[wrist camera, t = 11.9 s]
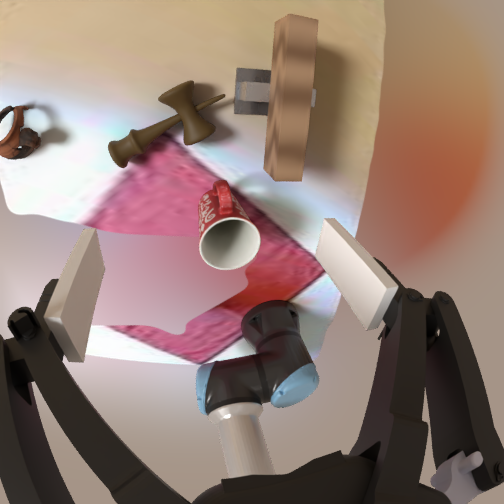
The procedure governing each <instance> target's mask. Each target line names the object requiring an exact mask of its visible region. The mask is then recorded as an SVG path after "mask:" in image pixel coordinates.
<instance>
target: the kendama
mask: <svg viewBox="0 0 504 504" xmlns="http://www.w3.org/2000/svg"><path fill="white" fill-rule="evenodd" d="M193 88H194V81H187V82H185V83H182V84H180V85H178V86H176V87H174V88H172V89H170V90H169V91H167V92H165V93H164V94H162V95H161V96H160V97H159V98H158V100H159V101H160V102H162V103H164V104H166V105H168V106H170V107H172V108H173V109H175V110H176V112H177V113H178V114H177V115H175V116H172V117H170V118H168V119H166V120H163V121H161V122H159V123H157V124H154V125H152V126H150V127H147V128H145V129H142V130H134V129H133V130H130V133H129V135H128V136H126V137H125V138H123V139H122V140H119V141H111V142H109V145H108V150H109V153H110V155H111V157H112V159H113V161H114V162H115V163H116V164H117V165H118V166H119V167H121V168H125V167H126V166H127V164H128V161H129V159H130V158H132V157H133V156H134V155H136V154H144V153H146V149H147V147H148V146H149V144H150V143H152V142H153V141H154V140H155V139H156V138H158V137H159V136H160V135H161V134H163V133H164V132H165V131H167V130H168V129H170V128H171V127H173V126H174V125H176V124H177V123H179V122H180V121H182V122H183V126H184V144H185V145H192V144H195V143H197V142H200V141H202V140H204V139H205V138H207V137H209V136H210V135H212V134H213V133H214V132H215V129H216V128H215V126H214V125H212V124H211V123H209V122H208V121H206V120H205V119H203V118H202V117H201V116H200V115H199V114H198V111H200V110H201V109H203V108H205V107H207V106H209V105H211V104H213V103H215V102H217V101H219V100H221V99H222V98H224V97H225V94H223V95H220V96H217V97H214V98H212V99H210V100H207V101H205V102H203V103H201V104H199V105H196V106H194V104H193V101H192V94H193Z"/></svg>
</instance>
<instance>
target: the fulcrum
mask: <svg viewBox="0 0 504 504" xmlns="http://www.w3.org/2000/svg"><path fill="white" fill-rule="evenodd" d="M270 82H271V71H269V70H259V69H245V68H237V70H236V85H235V102H234V114H259V115H268V107H269V94H270ZM315 99H316V89H313V91H312V100H311V107H315Z"/></svg>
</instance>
